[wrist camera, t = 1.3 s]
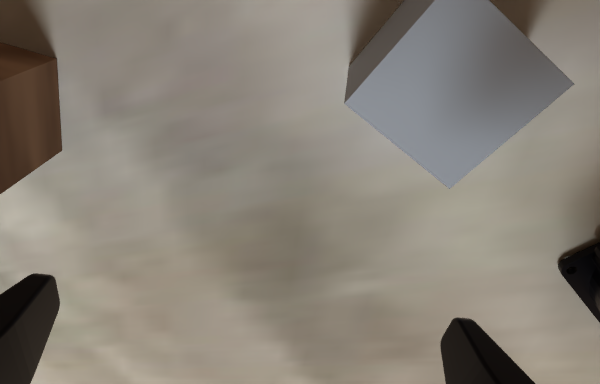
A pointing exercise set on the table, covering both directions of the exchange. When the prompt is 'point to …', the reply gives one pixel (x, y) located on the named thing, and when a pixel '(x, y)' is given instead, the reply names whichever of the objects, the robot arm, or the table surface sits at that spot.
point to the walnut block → (27, 113)
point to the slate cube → (451, 83)
